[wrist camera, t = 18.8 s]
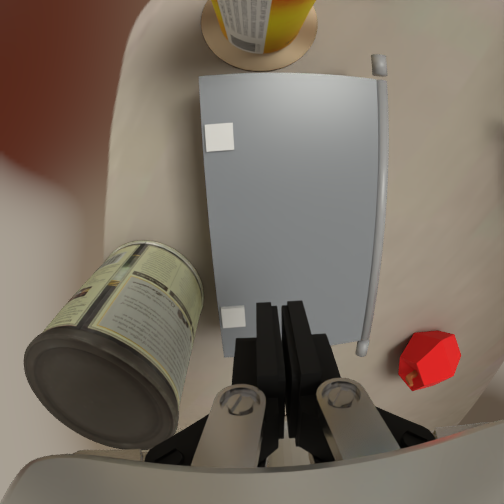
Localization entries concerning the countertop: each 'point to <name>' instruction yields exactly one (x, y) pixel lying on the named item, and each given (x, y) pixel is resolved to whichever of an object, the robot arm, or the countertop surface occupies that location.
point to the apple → (429, 359)
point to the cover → (295, 197)
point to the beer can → (261, 22)
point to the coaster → (254, 60)
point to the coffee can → (121, 348)
